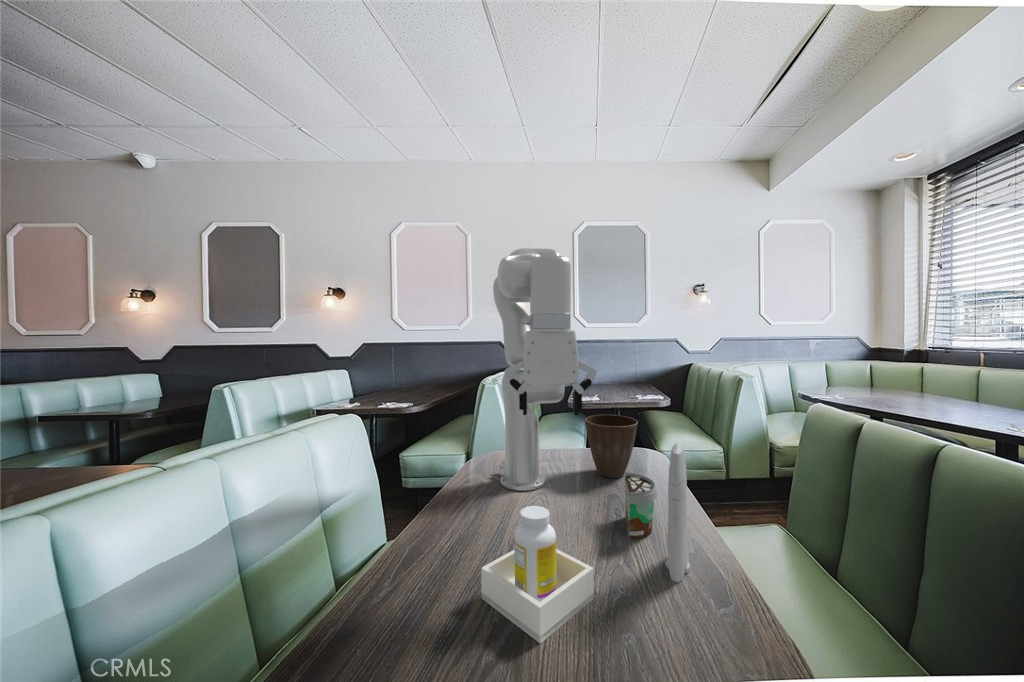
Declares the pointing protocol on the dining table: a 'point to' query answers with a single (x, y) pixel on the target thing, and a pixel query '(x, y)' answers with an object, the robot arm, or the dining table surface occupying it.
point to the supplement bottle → (535, 553)
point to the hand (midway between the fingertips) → (550, 413)
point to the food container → (639, 504)
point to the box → (526, 610)
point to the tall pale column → (677, 516)
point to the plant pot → (611, 443)
